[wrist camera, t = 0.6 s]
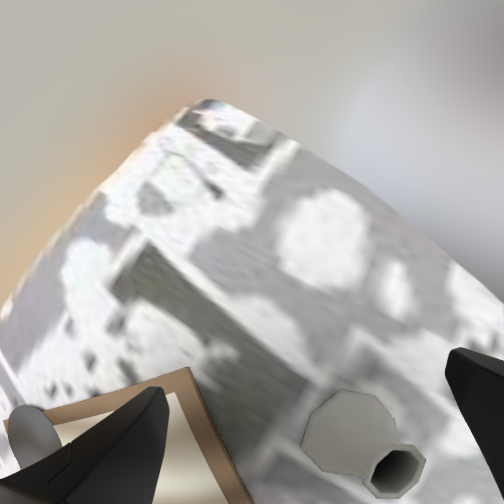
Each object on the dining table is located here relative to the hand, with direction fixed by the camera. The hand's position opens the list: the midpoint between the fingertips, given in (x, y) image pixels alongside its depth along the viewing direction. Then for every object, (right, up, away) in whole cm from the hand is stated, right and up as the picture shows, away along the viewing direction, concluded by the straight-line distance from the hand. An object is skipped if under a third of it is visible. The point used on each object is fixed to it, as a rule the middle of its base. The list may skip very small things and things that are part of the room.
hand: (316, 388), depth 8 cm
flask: (+5, -10, +12) cm, 17 cm away
